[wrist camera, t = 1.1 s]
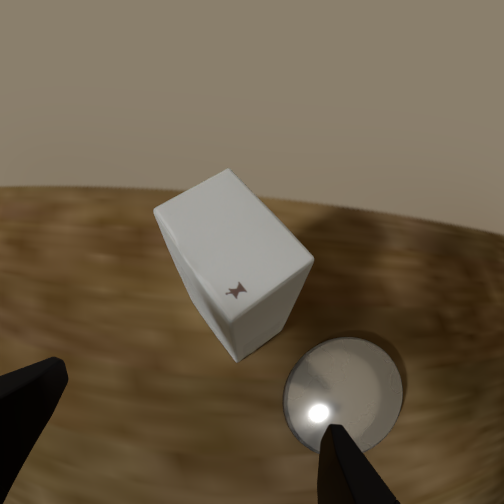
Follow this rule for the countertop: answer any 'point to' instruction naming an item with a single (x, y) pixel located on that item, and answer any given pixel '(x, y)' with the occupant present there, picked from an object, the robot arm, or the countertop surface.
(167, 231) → the skincare box
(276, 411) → the countertop surface
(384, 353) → the silver round plate
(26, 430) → the robot arm
